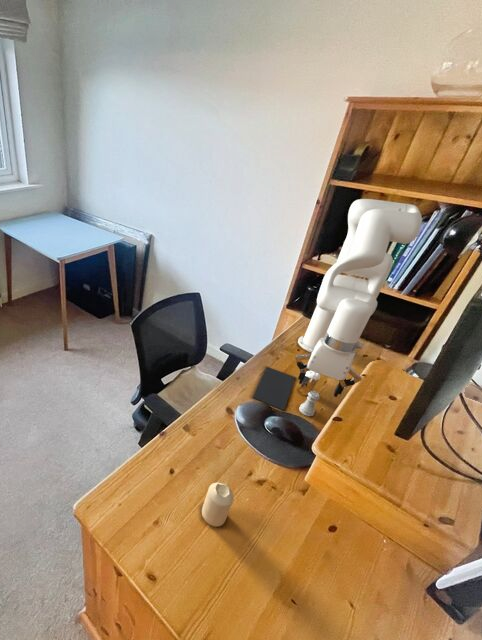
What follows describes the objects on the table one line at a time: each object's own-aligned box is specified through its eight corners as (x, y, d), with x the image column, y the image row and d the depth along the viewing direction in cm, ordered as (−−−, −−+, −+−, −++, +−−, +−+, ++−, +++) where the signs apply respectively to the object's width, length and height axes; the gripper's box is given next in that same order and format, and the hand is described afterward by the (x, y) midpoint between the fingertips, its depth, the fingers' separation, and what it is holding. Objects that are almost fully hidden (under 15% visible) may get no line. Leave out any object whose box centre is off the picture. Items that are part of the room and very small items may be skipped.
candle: (212, 531, 78) (221, 506, 73) (196, 509, 82) (204, 484, 77) (230, 520, 81) (240, 495, 75) (214, 499, 85) (223, 474, 79)
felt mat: (266, 367, 130) (266, 366, 130) (294, 378, 125) (295, 377, 125) (252, 397, 116) (252, 397, 116) (283, 411, 111) (284, 410, 111)
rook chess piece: (296, 411, 111) (304, 393, 107) (301, 404, 114) (309, 386, 110) (311, 419, 109) (320, 400, 104) (315, 411, 111) (324, 393, 107)
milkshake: (307, 387, 121) (318, 364, 116) (314, 397, 117) (324, 375, 112) (294, 385, 122) (304, 363, 116) (300, 396, 117) (310, 373, 112)
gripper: (376, 346, 95) (350, 392, 104) (307, 325, 103) (289, 370, 112) (376, 359, 90) (349, 407, 99) (304, 336, 98) (285, 382, 107)
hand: (317, 387), depth 105 cm, fingers open, 9 cm apart
